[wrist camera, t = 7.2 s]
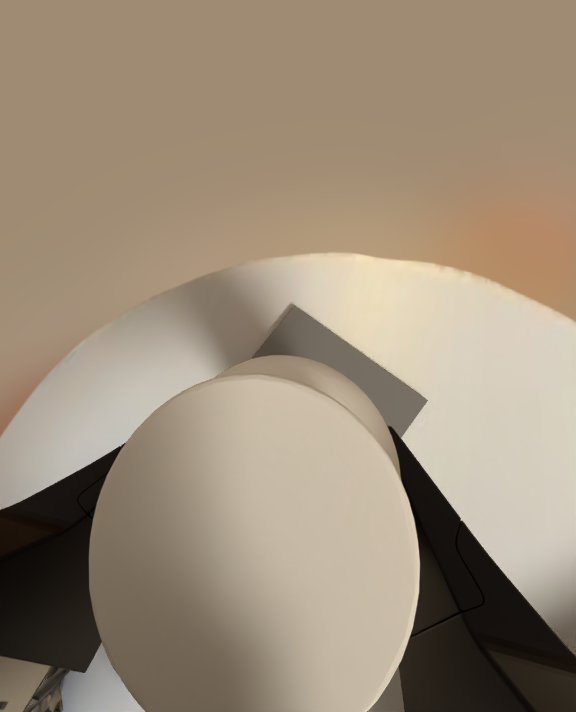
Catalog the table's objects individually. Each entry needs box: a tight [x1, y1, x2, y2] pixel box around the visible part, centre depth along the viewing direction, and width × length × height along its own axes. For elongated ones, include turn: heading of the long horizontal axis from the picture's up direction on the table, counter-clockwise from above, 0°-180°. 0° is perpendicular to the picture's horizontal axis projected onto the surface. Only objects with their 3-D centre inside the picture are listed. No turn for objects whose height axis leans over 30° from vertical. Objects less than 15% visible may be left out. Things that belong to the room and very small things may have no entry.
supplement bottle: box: [89, 355, 420, 712], centre depth 9 cm, size 7×7×13 cm
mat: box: [252, 306, 428, 438], centre depth 20 cm, size 16×14×1 cm
